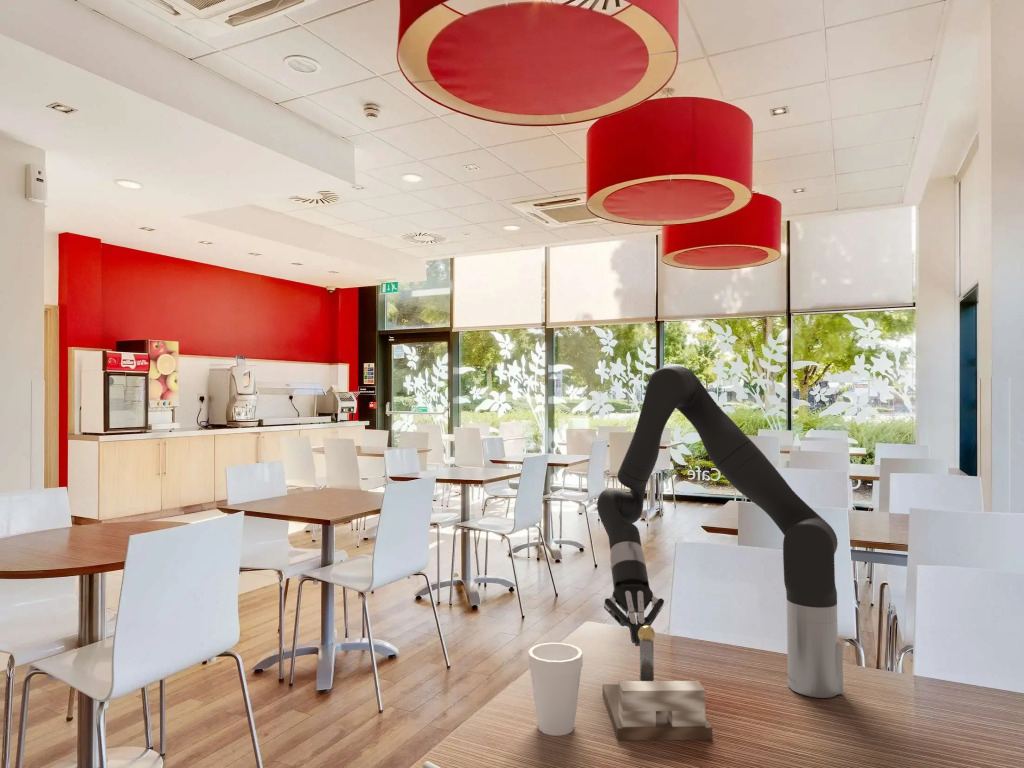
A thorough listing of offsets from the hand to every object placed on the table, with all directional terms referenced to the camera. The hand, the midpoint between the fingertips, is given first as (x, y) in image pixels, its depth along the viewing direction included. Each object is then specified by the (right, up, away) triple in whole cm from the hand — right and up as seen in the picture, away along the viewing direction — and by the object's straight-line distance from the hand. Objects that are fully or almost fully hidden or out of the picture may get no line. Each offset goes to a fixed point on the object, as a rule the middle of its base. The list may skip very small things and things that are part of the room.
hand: (639, 644), depth 136 cm
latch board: (0, -8, -13) cm, 15 cm away
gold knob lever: (0, -6, -9) cm, 11 cm away
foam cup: (-18, -8, -17) cm, 26 cm away
